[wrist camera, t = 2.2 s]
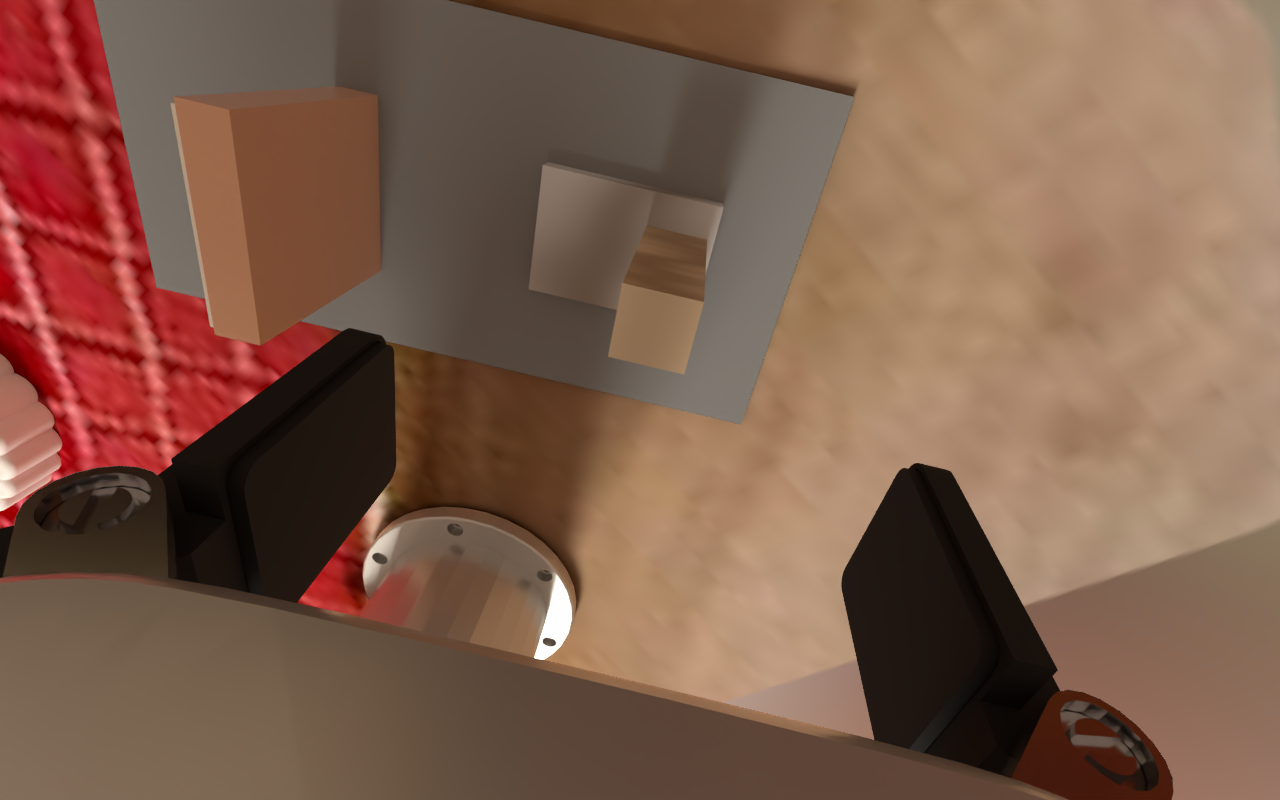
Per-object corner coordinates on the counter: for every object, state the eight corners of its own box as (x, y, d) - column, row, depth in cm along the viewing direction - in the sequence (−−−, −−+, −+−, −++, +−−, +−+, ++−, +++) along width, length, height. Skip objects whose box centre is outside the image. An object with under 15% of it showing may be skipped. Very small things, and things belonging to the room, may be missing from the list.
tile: (377, 95, 23) (229, 109, 16) (381, 270, 26) (260, 345, 19) (334, 85, 23) (165, 94, 16) (343, 261, 26) (209, 333, 19)
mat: (853, 96, 21) (854, 97, 21) (740, 421, 28) (741, 424, 28) (82, -87, 21) (74, -89, 21) (161, 285, 28) (156, 287, 28)
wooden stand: (723, 203, 23) (726, 260, 16) (691, 320, 26) (683, 411, 19) (548, 161, 23) (479, 202, 16) (533, 283, 26) (468, 361, 19)
